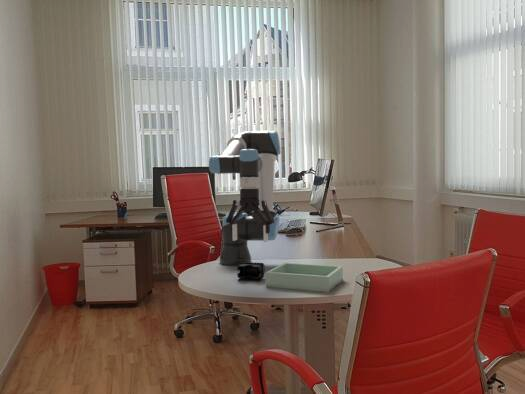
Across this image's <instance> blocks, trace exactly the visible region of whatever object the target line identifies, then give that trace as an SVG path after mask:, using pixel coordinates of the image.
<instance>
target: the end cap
mask: <svg viewBox="0 0 525 394" xmlns="http://www.w3.org/2000/svg"><path fill="white" fill-rule="evenodd" d="M265 268H266V267H265V263H263V262H251V263H249V262H239V265H237V267H236V269H237V271H238V272H237V273H236V275H237V278H238V279H237V282H257V283H259V282H260V283H261V281H262V280H263V278H264V277H265V274H266V272H265V271H266V269H265Z"/></svg>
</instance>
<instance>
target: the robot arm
mask: <svg viewBox="0 0 525 394" xmlns="http://www.w3.org/2000/svg"><path fill="white" fill-rule="evenodd" d="M278 155H281V143H280V137H279V134H278V132H277V131H276V130H252V131H251V130H246V131H242V132H239V133H237V134H235V135H233V136H232V137H231V138H230V139H228V141H227V143H226V147H225V148H224V149H223V150H222V152H221V153H220V154H219V155H217V154H216V155H211V156H210V157H209V160H208V169H209V171H210V173H211V174H218V175H221V174H224V175H225V174H239V188H240V189H239V197H240V199H239V200H238V199H233V201H232V206H231V208H230V211H229V212H228V215H225V216H223V218H222V225H221V226H222V249H221V252H220V254H219V264H220V265H225V266H239V262H249V263H252V255H251V253H250V250H249V248H248V242H249V241H253V242H254V241H256V242H257V241H259V242H260V241H263V243H267V242H269V241H271V242H272V241H276V239H277V236H278V235H279V228H280V216H279V215H277V212H276V210H275V209H274V187H275V185H274V181H275V180H274V179H275V178H274V177H275V176H274V175H275V173H274V171H275V161H276V160H277V159H278ZM239 205H240V206H241V207H240V208H239V209H238V206H239ZM237 209H238V211H237ZM236 211H237V213H236ZM247 212H251V215H248V213H247Z"/></svg>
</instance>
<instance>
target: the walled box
mask: <svg viewBox="0 0 525 394" xmlns="http://www.w3.org/2000/svg"><path fill="white" fill-rule="evenodd" d="M343 270H344V269H343V266H339V265H327V264H309V263H308V264H307V263H294V262H292V263H291V262H284V263H281V264H279V265H278V266H275V267H273V268H272V269H270V270H268V271H266V272H265V287H266V288H274V289H288V290H299V291H308V292H310V291H312V292H321V291H323V292H322V293H324V292H325V293H330V292H331V291H332V290H333V289H335V288H336V287H337V286H338V285H339V284H340V283H341V282H342V281H343V278H344V277H343V276H344V273H343V272H344V271H343ZM336 285H337V286H336ZM330 290H331V291H330ZM329 291H330V292H329Z"/></svg>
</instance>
